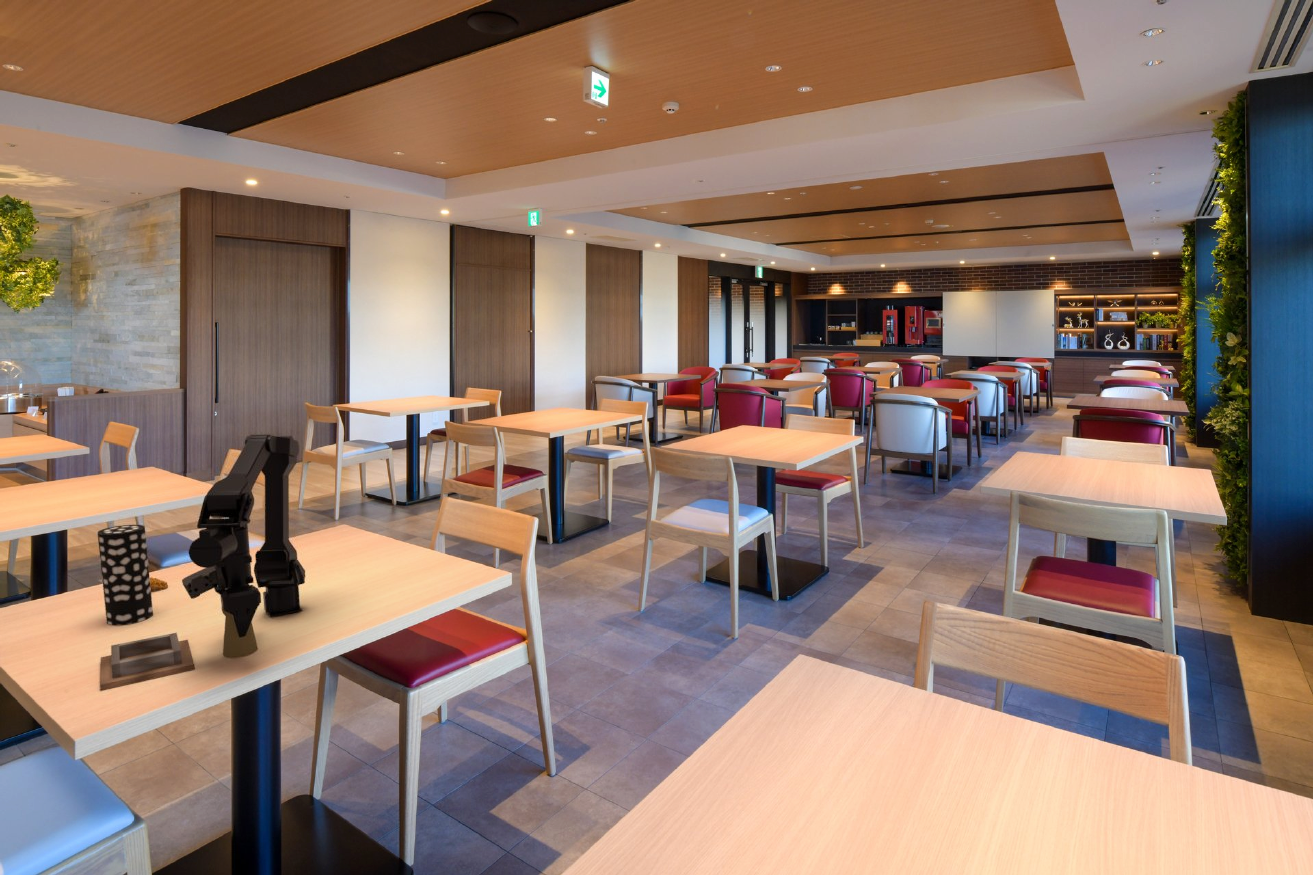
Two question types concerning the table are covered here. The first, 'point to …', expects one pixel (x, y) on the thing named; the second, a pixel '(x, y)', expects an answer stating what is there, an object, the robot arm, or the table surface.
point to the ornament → (157, 583)
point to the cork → (237, 639)
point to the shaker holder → (145, 660)
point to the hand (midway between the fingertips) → (238, 629)
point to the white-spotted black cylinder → (125, 574)
